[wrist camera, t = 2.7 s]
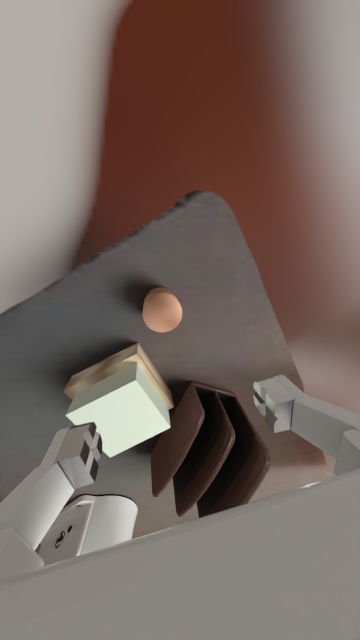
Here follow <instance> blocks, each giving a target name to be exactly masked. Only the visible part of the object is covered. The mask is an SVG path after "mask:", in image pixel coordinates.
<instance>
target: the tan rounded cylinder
mask: <svg viewBox="0 0 360 640" xmlns="http://www.w3.org/2000/svg"><path fill="white" fill-rule="evenodd" d="M181 318H182V308H181V305H180V304H179V302H178V300H177V298H176V297H175V295H174V294H173V292H172V291H170V290H169V289H167V288H164V287H157V288H154V289H152V290H150V291H149V292H148V293H147V294H146V296H145V298H144V303H143V319H144V322H145V324H146V325H147V326H148V327H149V328H150V329H152V330H154V331H156V332H168V331H171V330H173V329H174V328H175V327H177V326H178V324H179V323H180V321H181Z"/></svg>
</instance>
